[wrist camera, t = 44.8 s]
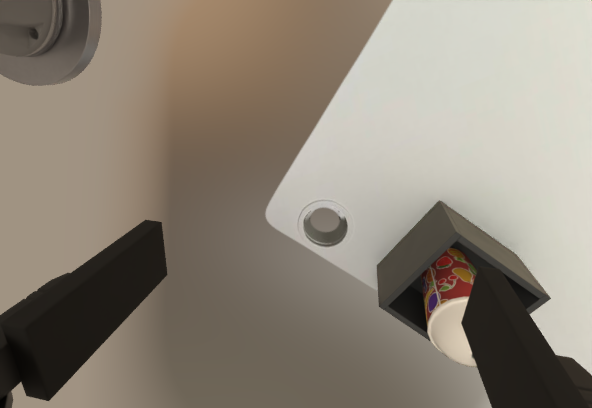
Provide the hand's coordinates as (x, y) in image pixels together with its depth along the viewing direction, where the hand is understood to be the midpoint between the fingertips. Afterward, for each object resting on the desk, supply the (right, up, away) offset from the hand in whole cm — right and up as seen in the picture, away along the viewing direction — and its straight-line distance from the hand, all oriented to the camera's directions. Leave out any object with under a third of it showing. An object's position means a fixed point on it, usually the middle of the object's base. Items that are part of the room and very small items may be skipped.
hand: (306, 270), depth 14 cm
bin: (+21, -6, +36) cm, 42 cm away
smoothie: (+21, -6, +36) cm, 42 cm away
